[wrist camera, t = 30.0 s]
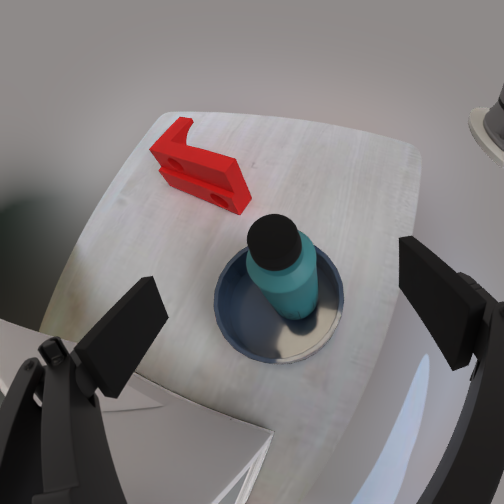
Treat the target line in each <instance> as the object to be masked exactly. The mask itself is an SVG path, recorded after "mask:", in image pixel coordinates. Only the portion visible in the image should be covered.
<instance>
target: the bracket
mask: <svg viewBox="0 0 504 504" xmlns="http://www.w3.org/2000/svg"><path fill="white" fill-rule="evenodd" d="M193 123H194V122H193V120H192V118H185V117H179V118H178V119H177V120H176V121H175V122H174V123H173V124H172V125H171V126H170V127H169V128H168V129H167V131H166V132H165V133H164V134H163V135H162V136H161V137H160V138H159V139H158V140H157V141H156V142H155V143H154V144H153V146H152V147H151V148H150V149H149V150H150V151H151V153H152V154H153V155H154V157H155V158H156V160H157V161H158V162H159V164H160V165H161V166H162V167H161V168H160V169H159V170H158V171H159V172H160V173H161V175H162V176H163V177H164V179H165V180H166V181H167V182H168V184H169V185H170V186H172V187H174V188H177V189H179V190H181V191H184V192H186V193H189V194H191V195H193V196H196V197H198V198H201V199H203V200H205V201H208V202H210V203H212V204H215V205H217V206H219V207H222V208H224V209H226V210H228V211H231V212H233V213H235V214H238V215H241V213H242V212H243V210H244V209H245V208H246V206H247V205H248V203H249V202H250V200H251V199H252V197H251V195H250V192H249V190H248V187H247V185H246V182H245V180H244V178H243V175H242V173H241V170H240V168H239V166H238V163H237V161H236V159H235V158H231V157H228V156H225V155H221V154H218V153H214V152H210V151H207V150H204V149H200V148H196V147H192V146H188V145H186V138H187V133H188V131H189V129H190V127H191V125H192V124H193Z"/></svg>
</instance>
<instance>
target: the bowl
mask: <svg viewBox="0 0 504 504" xmlns="http://www.w3.org/2000/svg"><path fill="white" fill-rule="evenodd" d="M314 247H315V251H316V269H317V272H318V273H317V275H318V276H317V278H318V279H319V280H318V281H319V287H318V296H319V297H320V298H319V297H318V299H319V300H318V302H317V303H318V304H317V305H318V306H316V307H317V308H316V307H315V309H314V310H313V312H312V313H311V314H309V315H308V316H306V317H305V318H302V319H298V320H297V321H295V320H293V321H291V319H286V318H284V317H282V316H281V317H280V316H279V315H280V314H279V313H278V312H277V311H276V310H275V309H273V308H274V307H273V306H272V305H270V302H269V301H268V300H267V299H266V297H265V296H263V293H262V291H261V290H260V289H259V287H258V286H257V285H256V284H255V283H254V282H253V281H252V279H251V278H250V276H249V273H248V270H247V266H246V259H247V254H248V251H249V247H248V246H247V247H245V248H244V249H242V250H240V251H239V252H238V253H237V254H236V255H235V256H234V257H233V258H232V259H231V260H230V261H229V262H228V263H227V265H226V266H225V268H224V270H223V271H222V273H221V274H220V276H219V279H218V282H217V285H216V288H215V293H214V312H215V316H216V321H217V324H218V326H219V328H220V330H221V332H222V334H223V336H224V338H225V339H226V340H227V341H228V342H229V343H230V344H231V345H232V346H233V348H234V349H235V350H237V351H238V352H240V353H242V354H243V355H245V356H247V357H248V358H251V359H253V360H257V361H261V362H264V363H269V364H292V363H295V362H299V361H302V360H305V359H307V358H309V357H311V356H312V355H314V354H315V353H317V352H318V351H320V350H321V349H322V348H323V347H324V346H325V345H326V343H327V342H328V341H329V340H330V339H331V337H332V335H333V333H334V331H335V329H336V327H337V325H338V323H339V321H340V318H341V314H342V309H343V304H344V293H343V283H342V281H341V278H340V275H339V273H338V270H337V268H336V267H335V265H334V264H333V262H332V261H331V260H330V258H329V257H328V256H327V255H326V254H325V253H324V252H322V251H321V250H320V249H319V248H317V247H316V246H314ZM274 310H275V311H274Z"/></svg>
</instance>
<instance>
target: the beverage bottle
mask: <svg viewBox="0 0 504 504" xmlns="http://www.w3.org/2000/svg"><path fill="white" fill-rule="evenodd" d="M247 244H248V247H249V251H248V254H247V259H246V266H247V270H248V273H249V276H250V278H251V279H252V281H253V282H254V283H255V284H256V285H257V286H258V287H259V289H260V290H261V291H262V293H263V296H265V297H266V299H267V300H268V301H269V302H270V305H272V306H273V307H274V308H273V309H275V310H276V311H277V312H278V313H279V314H280V315H279V316H280V317H281V316H282V317H284V318H286V319H291V321H293V320H295V321H297V320H298V319H302V318H305V317H306V316H308V315H309V314H311V313H312V312H313V310H314V309H315V307H316V306H318V305H317V304H318V303H317V302H318V300H319V299H318V297H319V296H318V287H319V281H318V280H319V279H318V278H317V276H318V275H317V273H318V272H317V269H316V251H315V247H314V245H313V243H312V242H311V240H310V239H309V238H308V237H307V236H306V235H305V234H304V233H302V232H301V231H299V230H297V227H296V225H295V224H294V223H293V222H292V220H290V219H289V218H288V217H286V216H283V215H279V214H270V215H266V216H263V217H261V218H259V219H258V220H257V221H255V222H254V223H253V225H252V226H251V227H250V229H249V231H248V235H247ZM319 298H320V297H319ZM316 308H317V307H316ZM275 310H274V311H275Z"/></svg>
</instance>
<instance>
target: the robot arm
mask: <svg viewBox="0 0 504 504" xmlns="http://www.w3.org/2000/svg"><path fill="white" fill-rule="evenodd" d="M489 110H490V111H489V112H487V113H486V114H485V117H484V120H483V126H484V129H485V131H486V133H487V134H488V136H489V137H490V139H491V140H492V141H493V142H494V143H495V144H496V145H497V146H498V147H499V148H500V149H501V150H502V151H503V152H504V85H503V88H502V91H501V94H500V97H499V100H498V102H497V103H496V104H495V105H494V106H493V107H492V108H490V109H489ZM399 288H400V289H401V290H402V292H403V293H404V295H405V296H406V297H407V299H408V300H409V302H410V303H411V305H412V306H413V308H414V309H415V311H416V312H417V313H418V315H419V317H420V318H421V320H422V321H423V323H424V324H425V326H426V327H427V329H428V330H429V332H430V334H431V335H432V337H433V338H434V340H435V342H436V343H437V345H438V347H439V348H440V350H441V352H442V353H443V355H444V357H445V359H446V360H447V362H448V364H449V366H450V367H451V369H452V371H454V370H457V369H459V368H462V367H465V366H467V365H469V362H470V360H471V357H472V354H473V353H474V355H475V356H476V358H477V362H476V365H475V368H474V370H473V373H472V375H471V378H470V381H471V383H470V387H469V390H468V394H467V397H466V400H465V403H464V406H463V409H462V411H461V414H460V417H459V420H458V422H457V425H456V427H455V430H454V432H453V435H452V437H451V440H450V442H449V444H448V446H447V449H446V451H445V453H444V455H443V457H442V459H441V461H440V463H439V465H438V467H437V469H436V471H435V473H434V475H433V476H432V478H431V480H430V482H429V484H428V485H427V487H426V489H425V491H424V492H423V494H422V496H421V497H420V499H419V500H418V502H417V503H416V504H491V502H492V499H493V497H494V495H495V492H496V490H497V487H498V484H499V482H500V479H501V476H502V474H503V470H504V302H499V303H498V302H497V301H496V300H495V299H494V298H493V297H492V296H491V295H490V294H489V293H488V292H487V291H486V290H485V289H484V288H482V287H481V286H480V285H479V284H477V282H476V281H475V280H474V279H472V278H471V277H470V276H468V275H466V274H464V273H461V272H460V273H456V272H455V271H454V270H453V269H452V268H451V267H449V266H448V265H447V264H446V263H445V262H444V261H442V260H441V259H440V258H439V257H438V256H437V255H435V254H434V253H433V252H432V251H431V250H429V249H428V248H427V247H426V246H424V245H423V244H422V243H420V242H419V241H418V240H417V239H415V238H414V237H413V236H407V237H401V238H399ZM168 318H169V317H168V315H167V312H166V310H165V307H164V304H163V302H162V299H161V297H160V294H159V291H158V289H157V286H156V283H155V280H154V278H153V276H150V277H143V278H141V279H140V280H139V281H138V282H137V283H136V284H135V285H134V286H133V287H132V288H131V289H130V290H129V291H128V292H127V293H126V294H125V295H124V296H123V297H122V298H121V299H120V300H119V301H118V302H117V303H116V304H115V305H114V306H113V307H112V308H111V309H110V310H109V311H108V312H107V313H106V314H105V315H104V316H103V317H102V318H101V319H100V320H99V321H98V322H97V323H96V324H95V326H94V327H93V328H92V329H91V330H90V331H89V332H88V333H87V334H86V335H85V336H84V337H83V338H82V339H81V341H80V342H79V343H78V344H77V345H76V346H75V347H74V348H73V349H74V350H73V351H72V352H71V353H70V354H69V352H68V350H67V349H66V347H65V345H64V344H63V342H62V340H61V338H60V337H58V336H57V337H52V338H49V339H47V340H46V341H44V342H43V343H42V344H41V345H40V346H39V347H38V351H39V353H40V355H41V356H42V358H43V360H44V361H45V363H46V364H47V365H44V366H42V364H41V363H40V361H39V359H38V358H36V357H32V358H28V359H27V360H25V361H24V363H23V364H22V365H21V366H20V368H19V370H18V372H17V374H16V376H15V378H14V380H13V382H12V384H11V386H10V388H9V390H8V392H7V394H6V396H5V399H4V401H3V403H2V405H1V408H0V504H127V501H126V499H125V496H124V493H123V490H122V488H121V485H120V482H119V479H118V476H117V473H116V469H115V466H114V463H113V459H112V456H111V452H110V449H109V445H108V441H107V437H106V433H105V428H104V424H103V419H102V414H101V409H100V403H99V398H98V396H97V395H96V393H95V391H96V389H97V388H99V389H100V391H101V392H102V394H103V395H104V396H105V397H109V398H115V399H117V398H118V397H119V395H120V393H121V392H122V390H123V389H124V387H125V385H126V384H127V382H128V380H129V379H130V377H131V376H132V374H133V372H134V371H135V369H136V368H137V366H138V364H139V363H140V361H141V360H142V358H143V357H144V355H145V353H146V352H147V350H148V349H149V347H150V346H151V344H152V343H153V341H154V339H155V338H156V336H157V335H158V333H159V332H160V330H161V329H162V327H163V326H164V324H165V323H166V321H167V319H168ZM34 393H35V395H36V396H37V397H38V399H39V400H40V401H41V402H42V405H41V407H40V406H39V405H38V404H37V402H36V401H35V400H34V399H33V396H34Z"/></svg>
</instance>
